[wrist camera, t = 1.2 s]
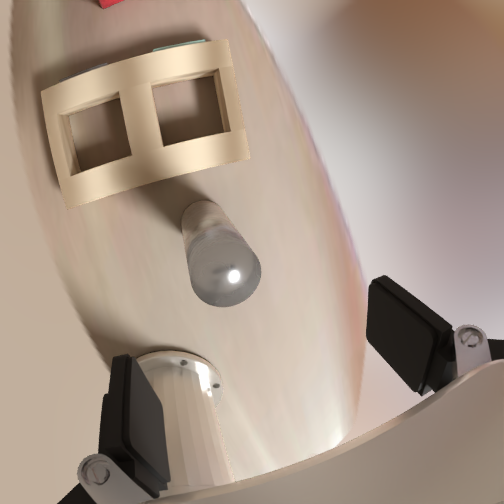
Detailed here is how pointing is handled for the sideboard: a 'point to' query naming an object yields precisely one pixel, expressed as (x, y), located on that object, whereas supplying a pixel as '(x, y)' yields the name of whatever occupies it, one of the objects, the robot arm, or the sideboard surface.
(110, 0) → the ink box
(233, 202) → the sideboard surface
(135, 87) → the socket block
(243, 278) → the peg
